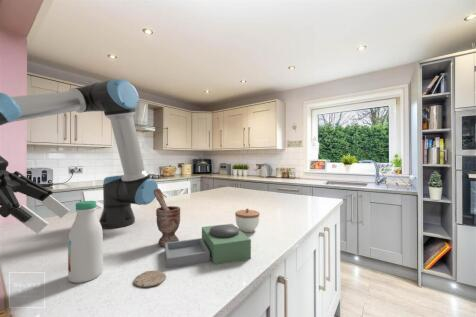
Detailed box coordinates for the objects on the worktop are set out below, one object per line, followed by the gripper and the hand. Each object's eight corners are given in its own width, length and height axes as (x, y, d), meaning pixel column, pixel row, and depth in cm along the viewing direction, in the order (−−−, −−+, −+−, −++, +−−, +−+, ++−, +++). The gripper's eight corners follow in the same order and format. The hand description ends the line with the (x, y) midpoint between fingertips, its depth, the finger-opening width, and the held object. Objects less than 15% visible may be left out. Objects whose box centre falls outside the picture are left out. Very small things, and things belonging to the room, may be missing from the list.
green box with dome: (201, 242, 84) (201, 223, 84) (232, 238, 88) (232, 220, 88) (214, 264, 67) (214, 240, 67) (250, 258, 71) (250, 235, 71)
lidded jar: (252, 235, 92) (252, 213, 92) (230, 231, 97) (230, 209, 97) (263, 228, 101) (263, 208, 101) (243, 224, 106) (243, 205, 106)
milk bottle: (109, 269, 64) (109, 199, 64) (88, 284, 56) (88, 205, 56) (84, 268, 64) (84, 198, 64) (60, 283, 57) (60, 204, 57)
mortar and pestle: (143, 246, 81) (143, 190, 80) (157, 237, 89) (157, 187, 89) (173, 248, 78) (173, 191, 78) (184, 239, 87) (184, 188, 87)
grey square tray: (164, 250, 76) (164, 242, 76) (201, 245, 81) (201, 238, 81) (167, 268, 65) (167, 258, 65) (209, 261, 69) (209, 252, 69)
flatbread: (127, 283, 57) (127, 279, 57) (152, 270, 64) (152, 266, 64) (148, 292, 53) (148, 288, 53) (172, 278, 60) (172, 274, 60)
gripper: (-3, 170, 63) (61, 219, 68) (-97, 178, 39) (13, 251, 45) (21, 151, 64) (82, 200, 70) (-54, 148, 41) (46, 222, 46)
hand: (55, 220), depth 57 cm, fingers open, 13 cm apart
